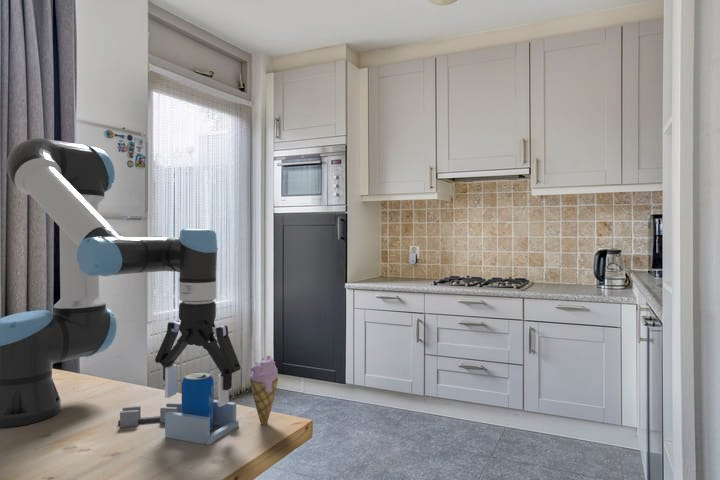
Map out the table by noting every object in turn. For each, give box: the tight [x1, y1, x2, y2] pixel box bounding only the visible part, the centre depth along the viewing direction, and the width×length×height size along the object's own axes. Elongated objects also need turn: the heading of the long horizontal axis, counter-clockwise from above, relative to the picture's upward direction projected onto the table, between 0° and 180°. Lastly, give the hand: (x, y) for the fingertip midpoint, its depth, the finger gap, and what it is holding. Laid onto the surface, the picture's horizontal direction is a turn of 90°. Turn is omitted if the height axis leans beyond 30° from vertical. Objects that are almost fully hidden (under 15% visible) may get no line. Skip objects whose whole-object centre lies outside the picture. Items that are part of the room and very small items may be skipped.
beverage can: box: [181, 370, 215, 430], centre depth 105 cm, size 6×6×12 cm
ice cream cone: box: [248, 354, 279, 426], centre depth 108 cm, size 7×6×15 cm
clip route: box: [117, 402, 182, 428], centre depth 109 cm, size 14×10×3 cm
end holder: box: [164, 399, 240, 446], centre depth 104 cm, size 11×10×5 cm
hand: (196, 400), depth 105 cm, fingers open, 13 cm apart
